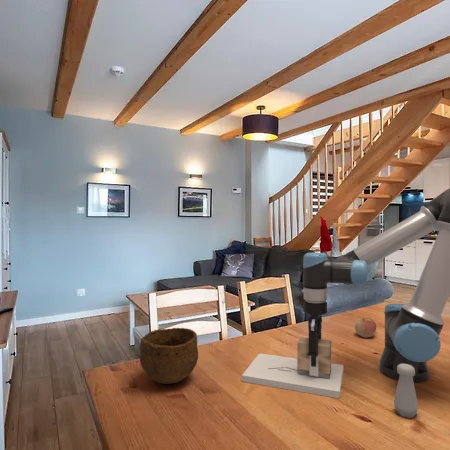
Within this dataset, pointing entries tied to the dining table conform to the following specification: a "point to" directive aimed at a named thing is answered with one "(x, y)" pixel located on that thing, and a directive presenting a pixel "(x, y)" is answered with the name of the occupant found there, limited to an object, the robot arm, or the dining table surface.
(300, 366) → the block
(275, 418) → the dining table surface
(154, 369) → the bowl
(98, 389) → the dining table surface
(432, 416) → the dining table surface
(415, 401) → the salt shaker
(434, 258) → the robot arm
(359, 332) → the apple
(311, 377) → the board
